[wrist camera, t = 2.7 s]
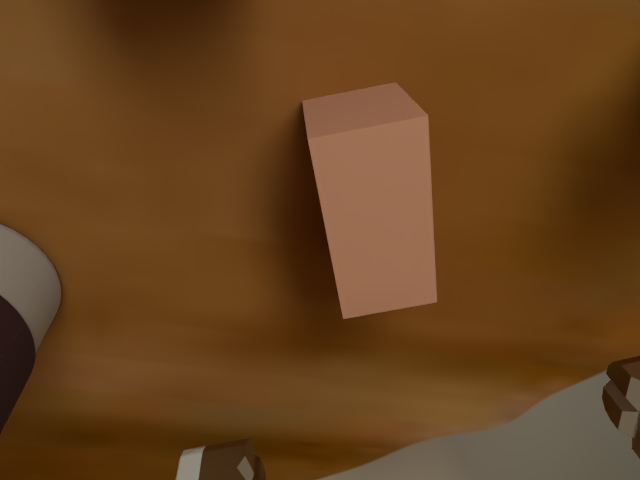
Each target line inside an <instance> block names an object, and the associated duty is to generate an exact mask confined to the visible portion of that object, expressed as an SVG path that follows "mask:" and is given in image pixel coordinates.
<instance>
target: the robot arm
mask: <svg viewBox="0 0 640 480" xmlns="http://www.w3.org/2000/svg"><path fill="white" fill-rule="evenodd" d="M606 374H607V375H608V377H609V378H610V379H611V380H610V381H609V382H608V383H607V384H606V385H605V386H604V387H603V395H602V399H603V403H604V407H605V410H606V412H607V414H608V416H609V418H610V420H611V421H612V422H613V424H614V425H615V426H616V428H617V429H618V430H619V431H621V432H623V433H625V434H627V435H628V436H631V437H632V449H633V450H634V452H635V453H636V454H637V456H638V457H639V458H640V356H637V357H632V358H628V359H623V360H619V361H614V362H612V363H611V364H609V365H608V368H607V372H606ZM176 480H266V474H265V470H264V466H263V463H262V461H261V458H260V457H258V456H256V455H255V445H254V443H253V441H252V439H251V438H245V439H239V440H234V441H229V442H223V443H218V444H213V445H206V446H201V447H197V448H192V449H187V450H184V451H183V453H182V455H181V457H180V460H179V465H178V470H177V475H176Z"/></svg>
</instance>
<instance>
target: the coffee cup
mask: <svg viewBox="0 0 640 480" xmlns="http://www.w3.org/2000/svg"><path fill="white" fill-rule="evenodd" d="M60 301H61V285H60V280H59V277H58V274H57V272H56V270H55V268H54V266H53V264H52V263H51V262H50V260H49V259H48V258H47V256H46V255H45V254H44V253H43V252H42V251H41V250H40V249H39V248H38V247H37V246H36V245H35V244H34V243H32V242H31V241H30V240H29V239H27V238H26V237H25V236H23V235H21V234H20V233H18V232H16V231H15V230H12V229H10V228H8V227H6V226H4V225H1V224H0V433H1V431H2V429H3V427H4V425H5V423H6V421H7V419H8V417H9V415H10V413H11V411H12V409H13V407H14V406H15V404H16V402H17V400H18V398H19V396H20V394H21V392H22V390H23V388H24V386H25V384H26V382H27V380H28V378H29V376H30V374H31V372H32V369H33V366H34V362H35V353H36V351H37V349H38V348H39V346H40V344H41V342H42V340H43V338H44V336H45V334H46V332H47V330H48V329H49V327H50V325H51V323H52V321H53V319H54V317H55V315H56V313H57V311H58V308H59V305H60Z"/></svg>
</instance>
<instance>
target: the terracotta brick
mask: <svg viewBox="0 0 640 480" xmlns="http://www.w3.org/2000/svg"><path fill="white" fill-rule="evenodd" d="M302 104H303V111H304V117H305V124H306V131H307V138H308V143H309V148H310V153H311V158H312V163H313V169H314V174H315V179H316V184H317V189H318V194H319V199H320V204H321V209H322V214H323V219H324V224H325V229H326V234H327V240H328V245H329V250H330V255H331V260H332V265H333V270H334V275H335V280H336V285H337V290H338V295H339V300H340V305H341V311H342V316H343V319H347V318H352V317H358V316H363V315H369V314H374V313H380V312H385V311H390V310H396V309H401V308H407V307H412V306H418V305H423V304H429V303H434V302H437V294H436V272H435V251H434V230H433V209H432V187H431V166H430V145H429V124H428V115H427V114H426V113H425V112H424V111H423V110H422V109H421V108H420V107H419V106H418V105H417V104H416V103H415V102H414V100H413V99H412V98H411V97H410V96H409V95H408V94H407V93H406V92H405V91H404V90H403V89H402V88H401V87H400V86H399V85H398V84H397V83H396V82H395V83H390V84H385V85H380V86H375V87H370V88H365V89H360V90H354V91H349V92H344V93H339V94H334V95H329V96H324V97H319V98H314V99H309V100H304V101H302Z"/></svg>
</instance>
